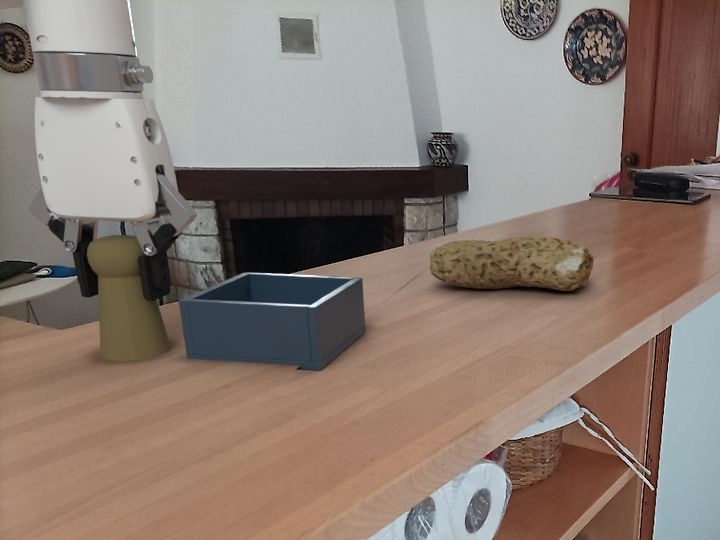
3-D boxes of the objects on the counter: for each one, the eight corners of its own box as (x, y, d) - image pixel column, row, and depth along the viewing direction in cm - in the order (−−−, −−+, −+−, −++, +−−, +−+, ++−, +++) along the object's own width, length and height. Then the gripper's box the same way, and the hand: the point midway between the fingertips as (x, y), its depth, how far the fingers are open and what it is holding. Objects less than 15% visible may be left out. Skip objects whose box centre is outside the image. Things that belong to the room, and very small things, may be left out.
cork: (115, 345, 75) (95, 230, 71) (180, 345, 76) (164, 231, 72) (89, 365, 70) (65, 241, 66) (160, 364, 70) (140, 242, 66)
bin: (187, 362, 71) (178, 300, 69) (250, 326, 83) (244, 272, 81) (320, 370, 70) (315, 307, 68) (365, 332, 81) (362, 277, 79)
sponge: (590, 291, 107) (456, 251, 110) (602, 238, 102) (462, 198, 106) (562, 332, 96) (415, 286, 100) (574, 275, 92) (420, 229, 95)
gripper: (211, 83, 67) (236, 291, 73) (27, 79, 69) (67, 282, 75) (162, 80, 60) (194, 310, 66) (-41, 76, 62) (9, 300, 68)
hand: (126, 293), depth 71 cm, fingers closed on cork, 5 cm apart
